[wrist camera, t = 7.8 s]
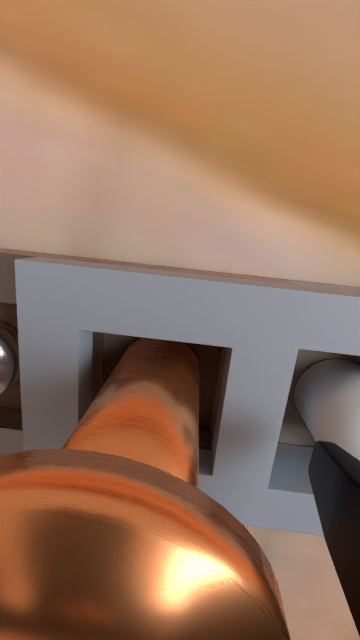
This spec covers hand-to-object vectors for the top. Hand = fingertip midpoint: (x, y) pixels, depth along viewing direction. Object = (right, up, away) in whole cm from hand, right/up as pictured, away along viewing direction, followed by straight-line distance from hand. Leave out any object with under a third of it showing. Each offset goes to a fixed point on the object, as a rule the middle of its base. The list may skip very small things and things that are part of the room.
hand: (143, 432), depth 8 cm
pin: (0, +1, +3) cm, 4 cm away
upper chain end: (+3, +1, +3) cm, 5 cm away
